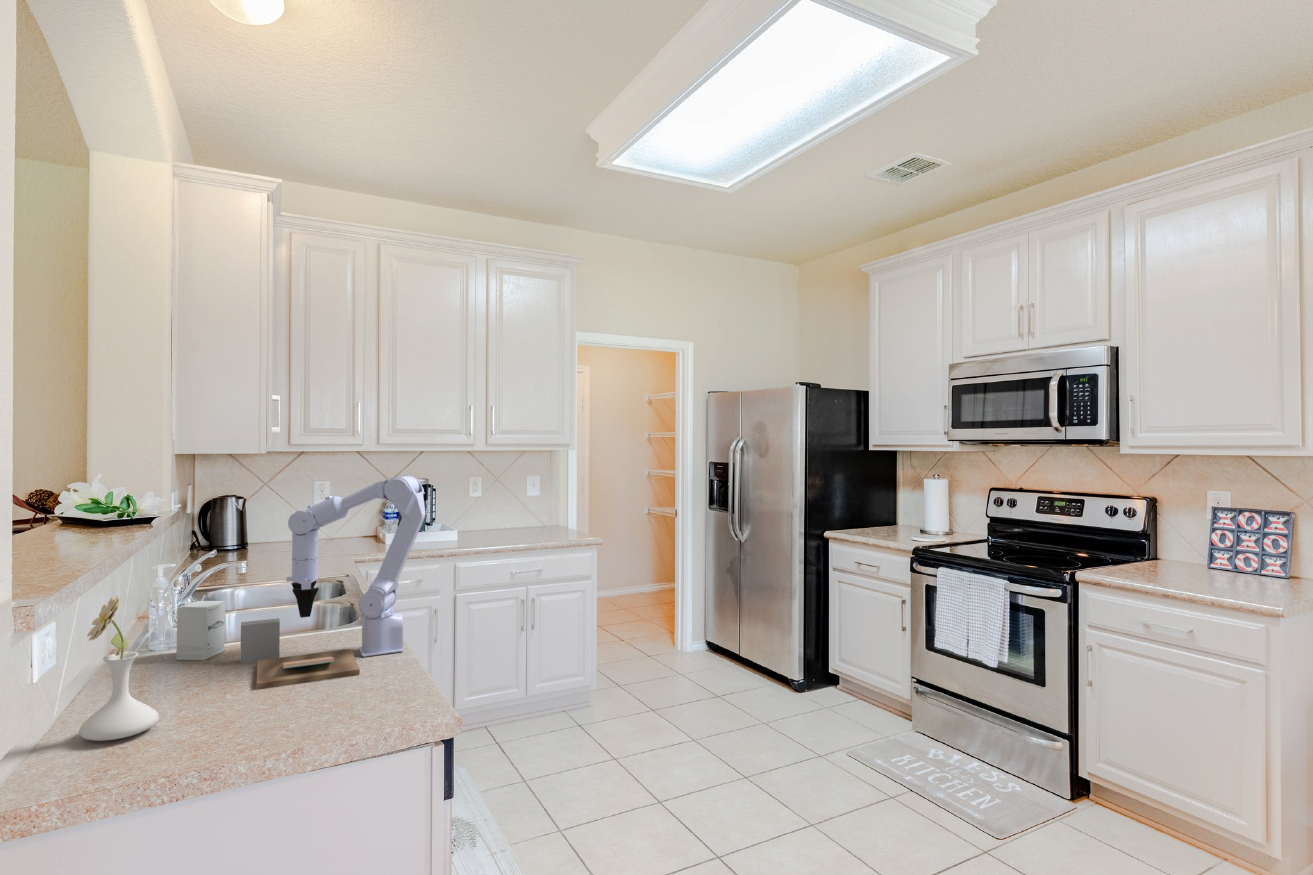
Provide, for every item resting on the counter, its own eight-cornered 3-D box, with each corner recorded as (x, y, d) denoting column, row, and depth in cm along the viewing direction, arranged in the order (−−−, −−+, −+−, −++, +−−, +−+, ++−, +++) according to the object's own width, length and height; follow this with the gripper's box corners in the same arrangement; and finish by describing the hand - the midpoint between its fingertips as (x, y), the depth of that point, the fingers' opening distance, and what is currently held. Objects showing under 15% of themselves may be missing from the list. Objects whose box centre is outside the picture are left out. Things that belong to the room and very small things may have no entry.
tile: (334, 658, 157) (334, 661, 157) (331, 656, 164) (331, 659, 163) (283, 664, 152) (283, 668, 152) (282, 662, 159) (282, 666, 159)
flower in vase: (90, 726, 128) (92, 588, 128) (165, 717, 132) (167, 584, 133) (64, 756, 116) (66, 604, 116) (148, 744, 121) (149, 598, 121)
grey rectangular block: (279, 655, 171) (279, 618, 171) (279, 659, 168) (279, 621, 168) (240, 660, 167) (241, 622, 168) (240, 664, 164) (240, 625, 164)
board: (350, 653, 173) (350, 648, 173) (359, 674, 157) (359, 669, 157) (257, 665, 163) (257, 660, 163) (256, 689, 147) (256, 683, 148)
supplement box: (205, 660, 167) (206, 607, 167) (175, 660, 167) (175, 606, 167) (225, 651, 174) (226, 600, 174) (196, 651, 174) (196, 600, 174)
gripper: (285, 555, 179) (285, 609, 179) (287, 564, 166) (286, 622, 166) (316, 553, 182) (316, 606, 182) (320, 561, 170) (320, 618, 169)
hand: (304, 613), depth 174 cm, fingers open, 7 cm apart
